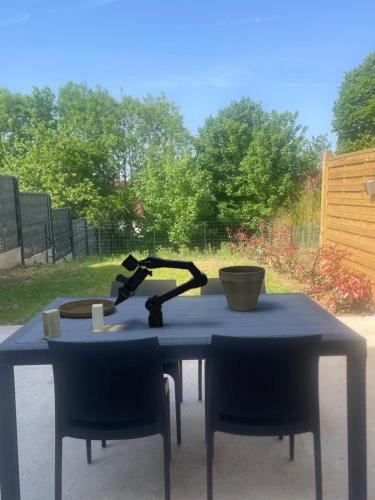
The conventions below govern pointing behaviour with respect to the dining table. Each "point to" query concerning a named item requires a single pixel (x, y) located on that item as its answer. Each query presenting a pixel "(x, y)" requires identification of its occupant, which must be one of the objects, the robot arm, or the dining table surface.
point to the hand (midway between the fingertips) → (117, 303)
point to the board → (110, 328)
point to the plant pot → (242, 286)
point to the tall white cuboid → (97, 316)
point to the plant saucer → (85, 308)
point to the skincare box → (51, 323)
